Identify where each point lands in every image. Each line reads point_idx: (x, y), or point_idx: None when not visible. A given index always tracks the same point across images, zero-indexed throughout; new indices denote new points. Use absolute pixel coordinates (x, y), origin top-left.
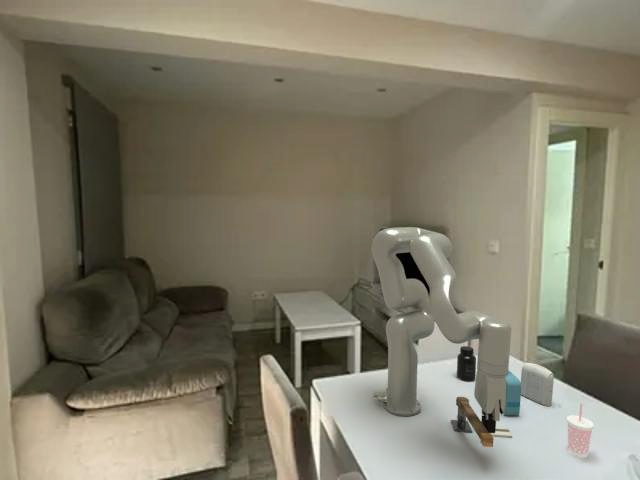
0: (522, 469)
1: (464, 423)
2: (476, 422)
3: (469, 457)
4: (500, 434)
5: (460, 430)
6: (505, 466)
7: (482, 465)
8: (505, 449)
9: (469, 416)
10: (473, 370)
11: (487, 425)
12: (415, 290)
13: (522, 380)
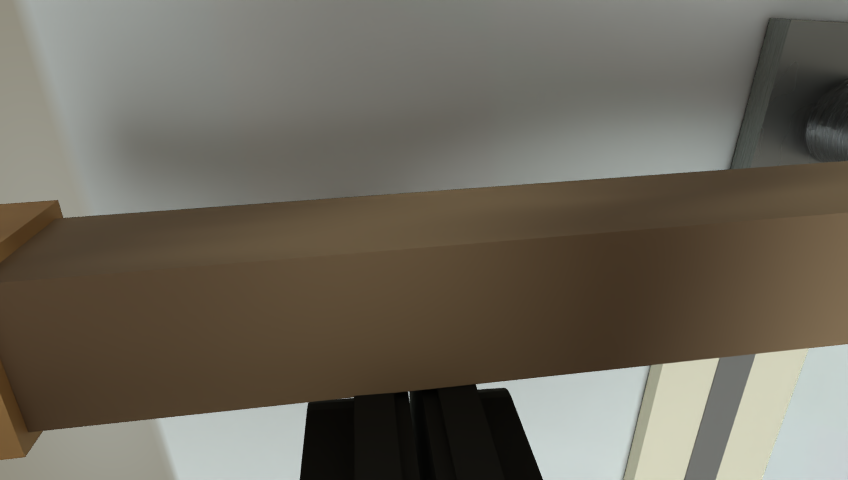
0: (228, 451)
1: (838, 153)
2: (442, 290)
3: (322, 50)
4: (656, 425)
5: (765, 85)
6: None
7: (210, 149)
8: None
9: (716, 210)
10: None
11: (307, 468)
12: None
13: None
